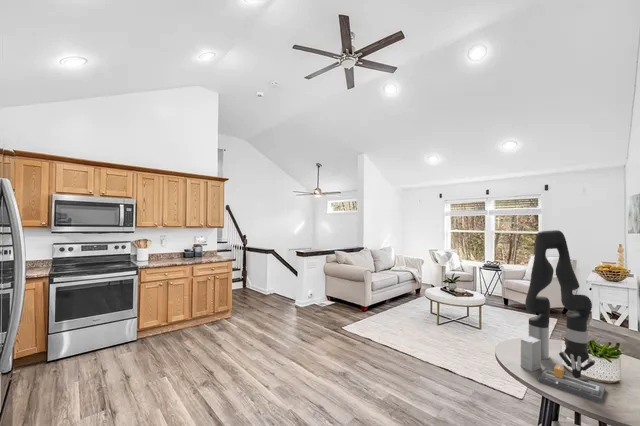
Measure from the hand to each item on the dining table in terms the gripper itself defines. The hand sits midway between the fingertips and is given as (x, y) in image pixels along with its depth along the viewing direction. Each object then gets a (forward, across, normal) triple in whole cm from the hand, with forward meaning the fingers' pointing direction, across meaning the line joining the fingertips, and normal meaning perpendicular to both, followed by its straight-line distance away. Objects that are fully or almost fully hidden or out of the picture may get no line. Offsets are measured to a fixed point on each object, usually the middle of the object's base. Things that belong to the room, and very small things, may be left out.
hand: (576, 377), depth 137 cm
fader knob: (+4, +6, 0) cm, 7 cm away
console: (+6, +2, -3) cm, 7 cm away
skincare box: (+6, +20, -8) cm, 22 cm away
